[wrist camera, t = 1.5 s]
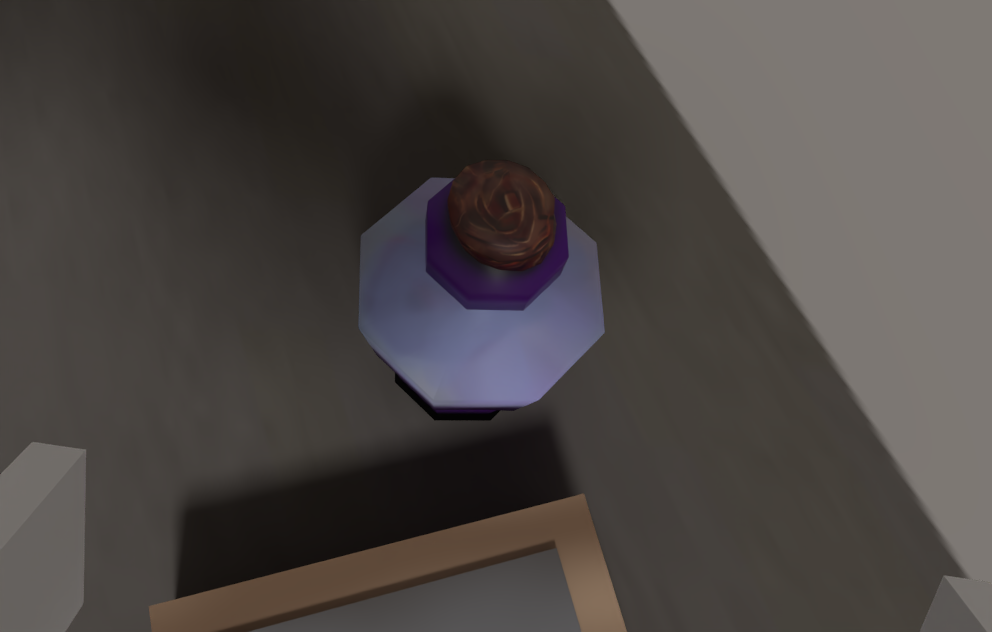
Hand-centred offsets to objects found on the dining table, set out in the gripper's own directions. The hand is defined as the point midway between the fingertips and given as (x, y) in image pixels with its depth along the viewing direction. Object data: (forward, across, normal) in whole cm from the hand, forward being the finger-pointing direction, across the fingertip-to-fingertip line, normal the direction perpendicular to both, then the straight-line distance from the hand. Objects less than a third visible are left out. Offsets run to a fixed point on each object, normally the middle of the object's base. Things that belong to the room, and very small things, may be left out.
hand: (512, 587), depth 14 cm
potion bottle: (+22, 0, -6) cm, 22 cm away
